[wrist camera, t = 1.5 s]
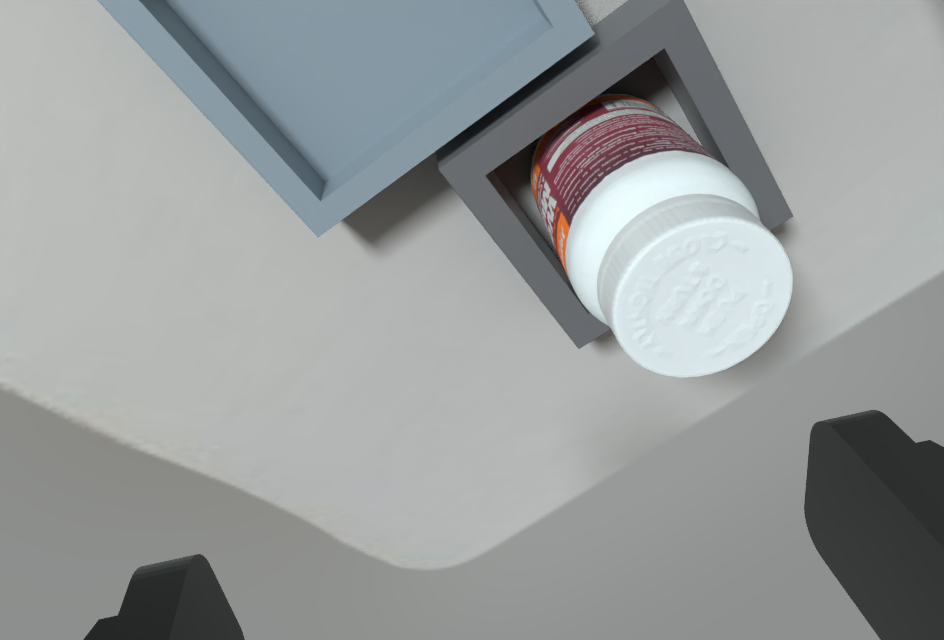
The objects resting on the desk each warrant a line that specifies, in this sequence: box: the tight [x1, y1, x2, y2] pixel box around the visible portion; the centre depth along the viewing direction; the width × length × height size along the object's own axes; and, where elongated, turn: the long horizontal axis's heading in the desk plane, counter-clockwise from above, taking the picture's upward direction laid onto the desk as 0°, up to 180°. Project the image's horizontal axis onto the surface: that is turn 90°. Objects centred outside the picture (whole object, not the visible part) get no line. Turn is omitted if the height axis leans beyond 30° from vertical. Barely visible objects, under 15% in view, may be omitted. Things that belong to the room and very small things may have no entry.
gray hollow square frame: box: [436, 0, 793, 349], centre depth 29 cm, size 10×10×3 cm
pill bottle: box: [531, 94, 793, 378], centre depth 25 cm, size 6×6×11 cm
